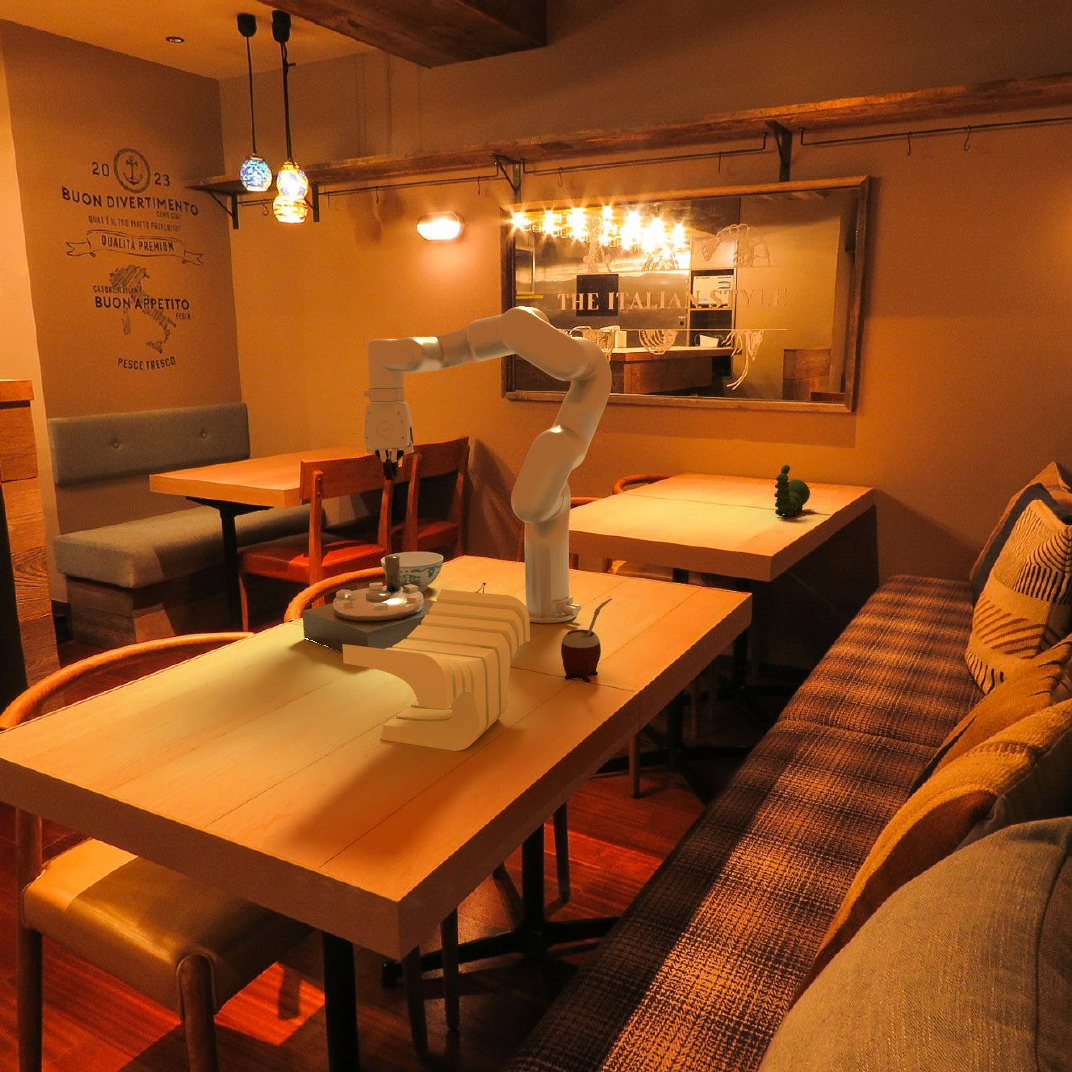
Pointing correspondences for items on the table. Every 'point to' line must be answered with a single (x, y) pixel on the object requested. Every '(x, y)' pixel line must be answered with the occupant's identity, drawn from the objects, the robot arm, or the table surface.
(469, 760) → the table surface
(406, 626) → the housing
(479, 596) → the slatted curved stool
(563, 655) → the mate gourd
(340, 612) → the round turntable with post
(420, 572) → the chinaware
